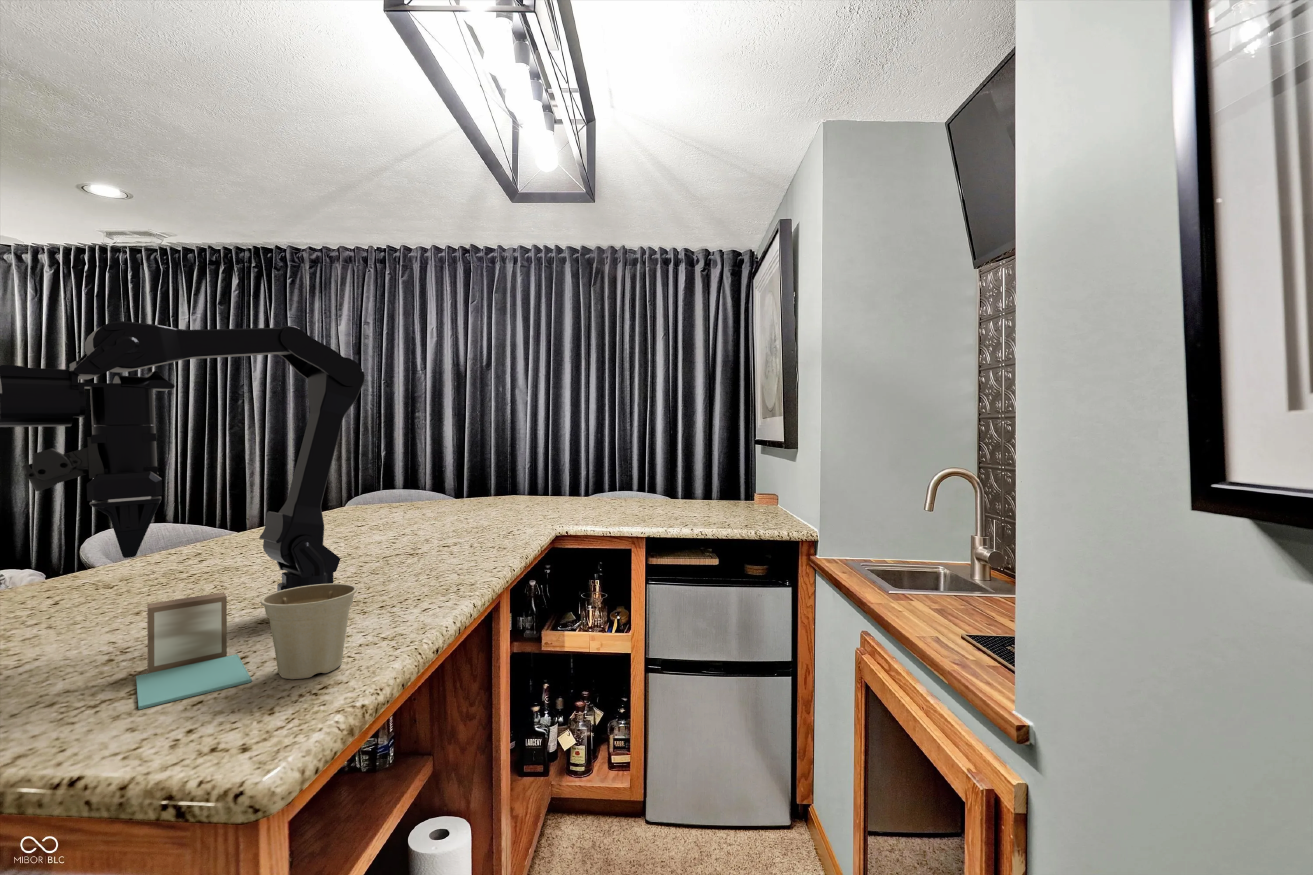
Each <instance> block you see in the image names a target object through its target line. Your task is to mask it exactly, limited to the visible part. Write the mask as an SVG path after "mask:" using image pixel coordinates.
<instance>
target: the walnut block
mask: <svg viewBox="0 0 1313 875" xmlns="http://www.w3.org/2000/svg"><path fill="white" fill-rule="evenodd" d="M227 598H228V596H227V594H226V593H225V592H224V591H222V592H221V591H220V592H217V593H209V594H203V595H197V596H196V595H195V596H190V597H183V598H176V599H171V600H170V599H169V600H164V601H163V600H162V601H157V602H150V603H149V602H148V603H147V606H146V608H147V610H146V612H147V618H146V620H147V633H146V635H147V641H146V642H147V643H146V644H147V645H146V646H147V649H146V650H147V651H146V652H147V658H146V660H147V664H146V665H147V674H148V673H152V672H157V671H161V670H166V669H171V668H175V667H180V666H185V665H189V664H194V663H199V662H203V661H208V660H213V659H217V658H222V657H227V656H228V653H227V652H228V651H227V649H228V648H227V646H228V644H227V643H228V640H227V638H228V637H227V636H228V635H227V634H228V633H227V630H228V628H227V624H228V622H227V621H228V620H227V619H228V617H227V615H228V613H227V611H228V605H227V604H228V602H227Z"/></svg>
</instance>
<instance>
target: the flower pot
mask: <svg viewBox="0 0 1313 875" xmlns="http://www.w3.org/2000/svg"><path fill="white" fill-rule="evenodd" d="M357 592H358V587H357V586H356V585H354V584H349V583H336V582H335V583H334V582H333V583H332V584H318V585H309V586H302V587H296V588H290V589H285V590H281V591H278V592H277V591H275V592H271V593H269V594H267V595H264V596H263V597H262V598H261V599H260V600H259V602H260V605H261V606H262V607H264V612H265V615H266V617H267V618H269V625H270V630H271V635H272V636H271V637H272V642H273V648H274V653H275V660H276V666H277V667H276V668H277V673H278V674H279V676H280V677H281V678H282V679H286V680H287V679H288V680H302V679H303V680H304V679H308V678H311V677H313V676H314V675H316V674H320V673H322V674H327V673H329V672H330V673H331V672H333V671H334V670H336V669H338V668H339V667H340V666H341V665H342V663H343V656H344V649H345V641H346V633H347V627H348V619H349V614H350V608H351V606H352V605H353V603H354V596H355V594H357Z"/></svg>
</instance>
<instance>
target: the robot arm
mask: <svg viewBox="0 0 1313 875" xmlns="http://www.w3.org/2000/svg"><path fill="white" fill-rule="evenodd" d="M84 351H85V353H84V354H83V355H81V357H80V358H79V359H77V360H75V361H73V362H71V363H69V368H68V369H67V368H45V367H44V368H42V367H29V366H28V367H27V366H22V365H16V364H0V428H9V427H10V428H13V427H14V428H18V427H19V428H23V427H25V428H27V427H29V428H30V427H34V428H35V427H37V428H38V427H71V426H72V425H73V422H74V418H81V419H83V418H85V415H86V411H87V410H86V408H87V407H86V406H87V400H86V392H85V391H86V390H85V389H90V390H89V392H90V394H89V395H90V410H91V412H90V414H91V418H90V419H91V434H90V436H89V437H87V447H84V448H81V449H77V450H74V451H70V452H67V453H61V452H60V451H58V450H56V449H55V448H48V449H45V450H42V451H38V452H35V453H33V458H32V463H29V464H26V465H22V466H20V467H21V469H22V471H23V473H24V474H25V476H24V477H25V478H26V479H28V481H29V483H30V484H31V486H32V487H33V489H34V490H35V492H40V491H44V490H48V489H51V488H52V487H54V486H56V485H58V484H61V483H63V482H67V481H70V480H72V479H76V478H79V477H82V476H85V475H88V479H91V480H90V481H89V482H87V483H86V501H87V502H89V505H90V507H92V508H94V509H97V510H98V511H100V512H101V513H103V514H105V515H107V516H108V518H109V520H110V523H111V525H112V528H113V531H114V534H115V537H116V540H117V543H118V547H119V550H120V553H121V555H122V558H123V559H129V558H135V557H136V556H137V554H138V552H139V549H140V548H141V545H142V543H143V541H144V538H145V536H146V534H147V532H148V529H149V527H150V525H151V523H152V520H153V519H154V517H155V514H156V512H157V510H158V508H159V506H160V503H161V501H162V496H163V479H162V477H160V476H159V475H160V474H159V472H158V470H159V468H158V461H157V460H158V459H157V458H158V456H157V432H156V410H155V391H161V392H162V391H163V392H165V391H170V390H174V389H175V384H174V383H172V382H171V381H169V380H168V379H166V377H164V376H163V375H162V374H161V372H159V370H154V371H151V372H149V373H148V374H147V375H146V376H142V375H141V376H139V375H137V376H136V375H115V376H114V378H113V380H112V382H80V381H79V380H90V379H93V378H95V377H99V376H100V375H103V374H105V373H107V372H108V373H109V372H111V373H127V372H132V371H137V370H142V369H146V368H153V367H156V366H157V367H158V366H160V365H165V364H171V363H174V362H180V361H185V360H196V359H197V360H198V359H199V360H200V359H213V358H231V357H233V358H234V357H248V356H249V357H250V356H266V355H267V356H269V355H278V356H279V357H281V358H282V359H284V361H286V362H287V363H288V364H289V365H290V366H291V368H292V369H294V371H296V373H298V374H299V375H301V376H302V377H304V378H305V379H306V380H307V381H308V382H307V394H306V395H307V400H308V404H309V415H308V420H307V423H306V427H305V431H304V434H303V435H304V436H303V439H302V441H301V442H302V443H301V446H300V450H299V452H298V457H297V461H296V464H295V468H294V473H293V476H292V479H291V482H290V486H289V487H290V488H289V491H288V494H287V498H286V500H285V502H284V504H283V505H282V507H281V508H280V510H279V511H278V512H275V511H269V510H268V511H267V513H266V516H265V525H264V526H265V527H264V528H263V529H264V530H263V531H262V533H261V534H260V536H259V539H260V540H263V542H262V543H263V544H262V546H263V552H265V554H266V555H267V556H268V558H269V559H272V560H273V561H275V562H276V563H277V565H278V567H279V570H280V571H284V572H281V582H279V583H278V584H277V591H276V592H278V591H281V590H285V589H290V588H296V587H302V586H309V585H318V584H332V583H334V573H336V572H337V570H338V567H339V564H340V561H341V557H340V556H338V555H337V554H336V553H334V552H333V550H331V549H329V548H328V547H327V546H325V545H324V537H325V523H324V517H323V510H322V503H323V499H324V494H325V491H326V487H327V484H328V479H329V475H330V472H331V468H332V465H333V464H332V463H333V460H334V455H335V451H336V449H337V444H338V440H339V436H340V433H341V428H342V424H343V420H344V418H345V416H346V415H347V413H348V411H349V410H350V409H351V407H352V406H353V405H354V403H355V402H356V401H357V399H358V397H359V395H360V393H361V390H362V388H363V385H364V383H365V378H366V375H365V374H366V373H365V371H364V370H363V369H362V367H361V365H360V364H359V362H357V361H356V360H354V359H352V358H349V357H345V356H343V355H342V354H340V353H339V352H338V351H336V350H335V349H333V348H332V347H330V346H328V345H326V344H324V343H322V342H321V341H318V340H316V339H315V338H313V337H311V336H310V335H309V334H307V333H306V332H305V331H303V330H302V329H301V328H299V327H297V326H294V325H284V326H281V327H250V328H249V327H247V328H246V327H245V328H244V327H243V328H240V327H239V328H210V329H209V328H207V329H205V328H204V329H202V328H201V329H186V328H185V329H182V328H176V327H175V328H174V327H171V326H170V327H169V326H165V325H161V324H160V325H159V324H152V323H143V322H136V321H129V320H128V321H127V320H126V321H125V320H118V321H111V322H108V323H105V324H103V325H102V326H100V327H99V328H96V329H95V330H93V331H92V333H90V334H89V335H88V336H87V338H86V339H85V342H84Z"/></svg>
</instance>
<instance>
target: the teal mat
mask: <svg viewBox="0 0 1313 875" xmlns="http://www.w3.org/2000/svg"><path fill="white" fill-rule="evenodd" d="M135 680H136V681H135V682H136V692H137V706H138V708H137V709H138V710H143V709H147V708H152V707H155V706H159V705H164V704H167V703H171V702H176V701H180V700H184V699H187V698H191V697H196V696H199V695H200V696H201V695H204V694H208V693H212V692H216V691H220V690H225V689H227V688H231V687H236V686H241V685H245V684H248V683H252V678H251V675H250V674H249V672H248V670H247V669H246V667H245V664H244V663H243V661H242V659H241V658H240V656H239V654H238V653H236V654H232V655H227V657H222V658H217V659H213V660H208V661H203V662H199V663H194V664H189V665H185V666H180V667H175V668H171V669H166V670H161V671H157V672H152V673H148V672H147V673H144V674H140V675H136V676H135Z"/></svg>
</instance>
